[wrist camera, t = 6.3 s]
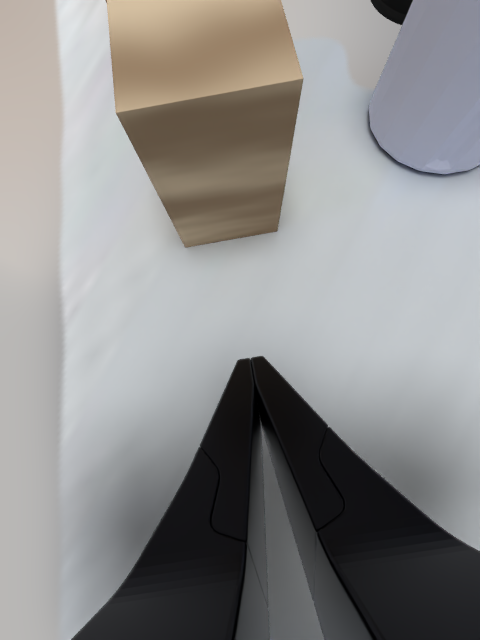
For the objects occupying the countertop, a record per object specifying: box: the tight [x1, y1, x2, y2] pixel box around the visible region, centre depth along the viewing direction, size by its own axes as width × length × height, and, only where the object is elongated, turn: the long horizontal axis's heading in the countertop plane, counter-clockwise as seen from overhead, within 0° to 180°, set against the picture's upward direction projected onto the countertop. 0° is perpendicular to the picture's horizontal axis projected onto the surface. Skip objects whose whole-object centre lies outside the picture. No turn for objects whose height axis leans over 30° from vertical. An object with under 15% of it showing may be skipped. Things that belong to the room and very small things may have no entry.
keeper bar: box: [107, 0, 303, 247], centre depth 14 cm, size 16×6×9 cm, turn 10°
